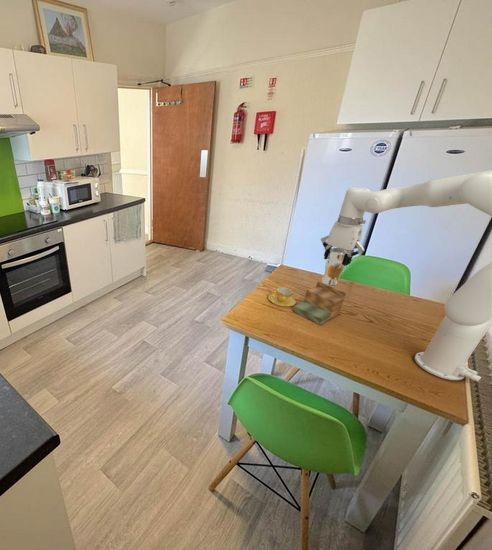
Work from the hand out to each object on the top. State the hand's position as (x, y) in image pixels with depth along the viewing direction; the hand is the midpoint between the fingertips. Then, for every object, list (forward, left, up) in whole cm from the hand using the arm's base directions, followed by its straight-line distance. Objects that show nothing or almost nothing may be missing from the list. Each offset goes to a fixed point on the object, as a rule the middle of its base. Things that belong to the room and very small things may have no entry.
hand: (336, 261), depth 123 cm
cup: (+15, +7, -25) cm, 29 cm away
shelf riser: (0, +3, -24) cm, 25 cm away
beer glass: (0, 0, -10) cm, 10 cm away
